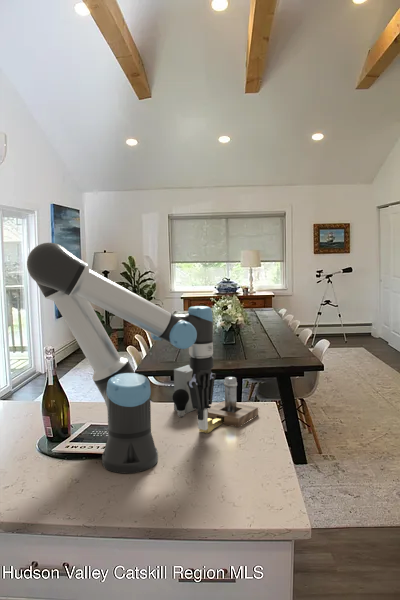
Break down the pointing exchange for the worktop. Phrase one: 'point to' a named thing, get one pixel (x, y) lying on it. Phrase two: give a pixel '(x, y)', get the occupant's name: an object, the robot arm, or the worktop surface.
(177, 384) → the skincare box
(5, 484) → the worktop surface
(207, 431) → the lock pin
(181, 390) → the light bulb
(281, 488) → the worktop surface
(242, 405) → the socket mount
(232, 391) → the cylinder
